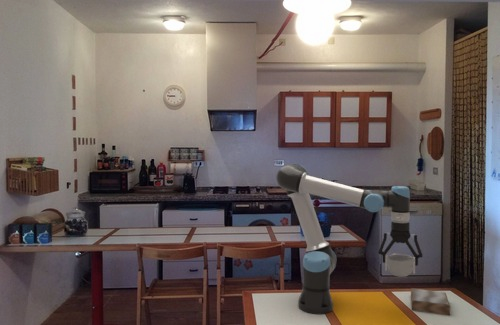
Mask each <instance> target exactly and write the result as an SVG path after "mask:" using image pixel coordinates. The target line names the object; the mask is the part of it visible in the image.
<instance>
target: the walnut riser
mask: <svg viewBox="0 0 500 325" xmlns="http://www.w3.org/2000/svg"><path fill="white" fill-rule="evenodd" d="M410 305H411V310H412V311H416V312H417V311H418V312H424V313H429V314H430V313H431V314H432V313H433V314H440V315H446V316H450V315H451V305H450V301H449V298H448V296H447V293H446V292H443V291H436V290H435V291H434V290H428V289H421V288H410Z"/></svg>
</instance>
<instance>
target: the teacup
mask: <svg viewBox="0 0 500 325" xmlns="http://www.w3.org/2000/svg"><path fill="white" fill-rule="evenodd" d="M413 257H414V256H411V255H409V254H404V253H403V254H402V253H395V252H394V253H392V254H389V255H388V254H387V271H388V272H389V273H391V274H392V275H393V276H395V277H399V278H403V277H404V278H405V277H408V276H409V275H411V274H413Z"/></svg>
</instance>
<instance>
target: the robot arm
mask: <svg viewBox="0 0 500 325" xmlns="http://www.w3.org/2000/svg"><path fill="white" fill-rule="evenodd" d="M276 183H277V185H278V186H279V187H280V188H281V189H282V190H285V192H286V195H287V197H289V198H291V201H292V203H293V206H294V209H295V212H296V214H297V219H298V222H299V224H300V228H301V230H302V234H303V237H304V238H305V239H304V241H305V244H306V245H307V246H306V249H305V254H304V255H303V259H302V290H301V293H300V296H299V297H298V298H299V299H298V301H297V302H298V303H297V304H298V305H297V306H298V309H300V310H301V311H303V312H304V313H305V312H306V313H308V314H309V313H310V314H315V315H316V314H317V315H320V314H321V315H322V314H327V313H331V312H332V311H333V310H334V303H333V299H332V296H331V291H330V278H331V277H330V275H331V274H332V273H333V271H334V270H335V269H336V266H337V255H336V253H335V252H334V251H333V249H332V247H331V244H330V243H329V242H328V241H326V240H325V237H324V233H323V230H322V229H321V224H320V223H319V222H320V221H319V219H318V216H317V214H316V210H315V207H314V204H313V201H312V198H311V196H310V194H311V195H314V196H317V197H321V198H325V199H328V200H332V201H337V202H340V203H343V204H347V205H352V206H354V207H358V208H361V209H366V210H367V211H368V212H371V213H377V212H379V211H381V210H382V209H383V208H387V209H389V208H391V210H390V211H391V212H390V213H391V215H390V217H391V218H390V219H391V222H390V232H386V231H385V232H383V238H382V242H381V244H380V247H379V249H378V253H377V254H379V255H381V256H382V263H384V265H385V266H384V268H385V270H384V271H385V272H387V271H388V264H387V256H388V254H387V253H389V250H390V249H391V248H392V247H393V245H394V244H395V243H397V244H400V243H401V244H405V245H406V246H407V247H408V249H409V250H410V253H412V255H413V256H412V257H413V271H412V274H413V275H415V274H416V266H417V267H418V266H419V259H420V258H423V253H422V249H421V246H420V244H419V241H418V234H417V233H415V234H414V233H413V234H412V233H410V220H411V218H410V216H411V214H410V213H411V212H410V207H411V206H410V205H411V204H410V203H411V202H410V200H411V196H410V195H411V194H410V193H411V191H410V188H409V187H408V186H403V185H393V186H391V190H382V189H380V190H378V189H377V190H376V189H375V190H374V189H366V190H365V189H363V188H362V189H361V188H357V187H353V186H350V185H345V184H344V183H343V184H342V183H338V182H335V181H331V180H326V179H323V178H320V177H315V176H312V175H309V172H308V170H307V169H306V168H305V167H304V166H303V165H300V164H299V163H298V164H297V163H293V164H287V165H283V166H282V167H281V168H279V169H278V171H277V173H276ZM389 237H391V239H392V240H391V241H390V242H389V243H388V245H387V246H386V248H385V249H384V247H385V244H386V241H387V238H389ZM410 238H411V239H412V240H413V241H414V244H415V247H416V250H417V252H416V250H415V249H414V247H413V245H411V243H410V241H409V239H410ZM383 249H384V250H383Z"/></svg>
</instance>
